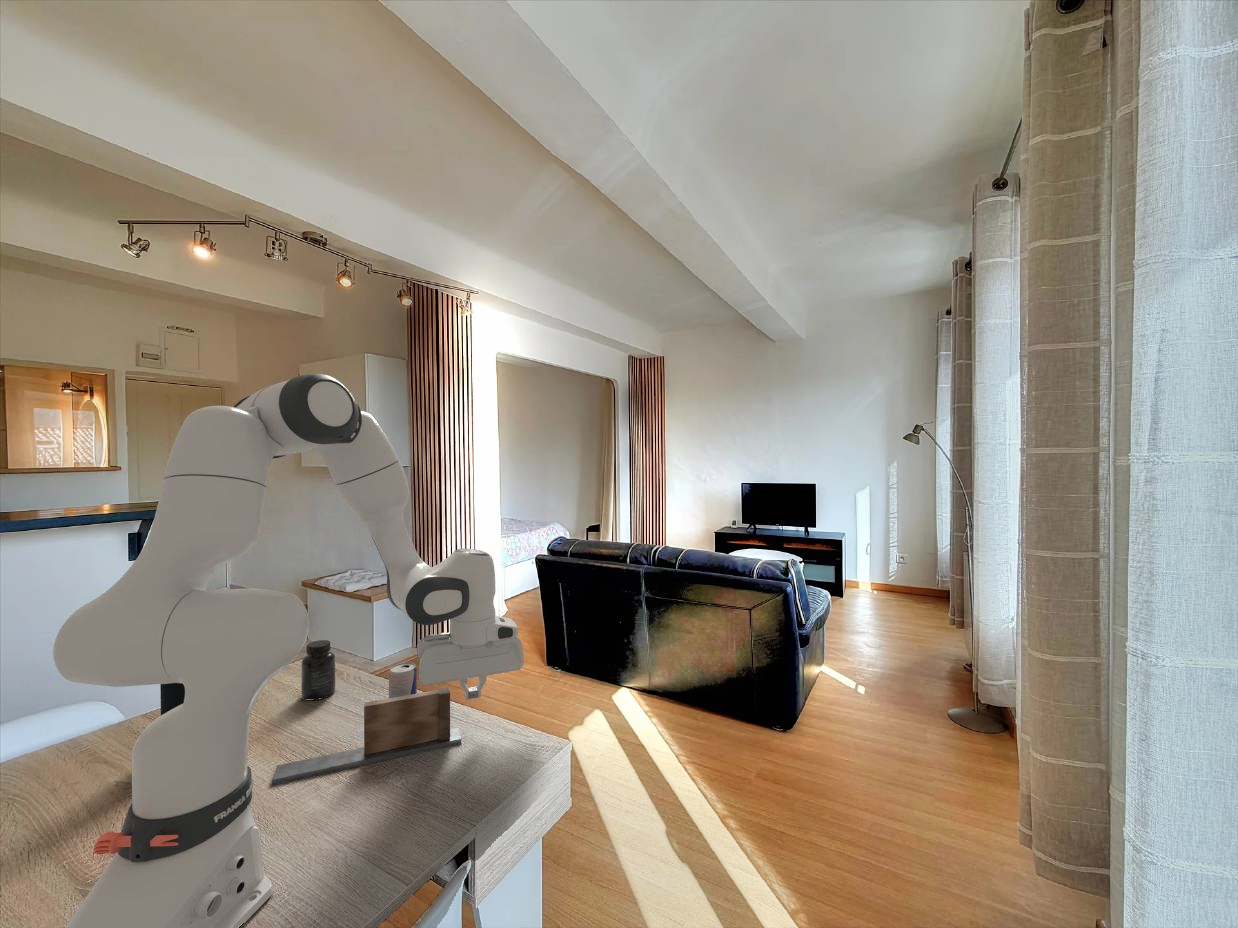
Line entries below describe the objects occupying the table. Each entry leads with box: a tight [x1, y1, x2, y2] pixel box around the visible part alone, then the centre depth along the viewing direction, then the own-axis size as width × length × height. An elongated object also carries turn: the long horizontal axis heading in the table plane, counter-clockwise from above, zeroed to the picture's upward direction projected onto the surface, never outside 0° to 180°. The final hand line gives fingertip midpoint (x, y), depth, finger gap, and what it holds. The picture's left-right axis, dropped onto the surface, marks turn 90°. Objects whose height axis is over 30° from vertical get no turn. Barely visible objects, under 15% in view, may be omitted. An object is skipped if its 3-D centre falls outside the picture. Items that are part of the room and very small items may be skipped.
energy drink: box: [388, 662, 418, 699], centre depth 104 cm, size 5×5×12 cm
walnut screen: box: [363, 685, 451, 755], centre depth 96 cm, size 15×3×9 cm, turn 114°
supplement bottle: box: [300, 639, 336, 700], centre depth 117 cm, size 7×7×12 cm
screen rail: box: [271, 727, 462, 786], centre depth 93 cm, size 31×4×1 cm, turn 114°
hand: (472, 697), depth 100 cm, fingers closed
